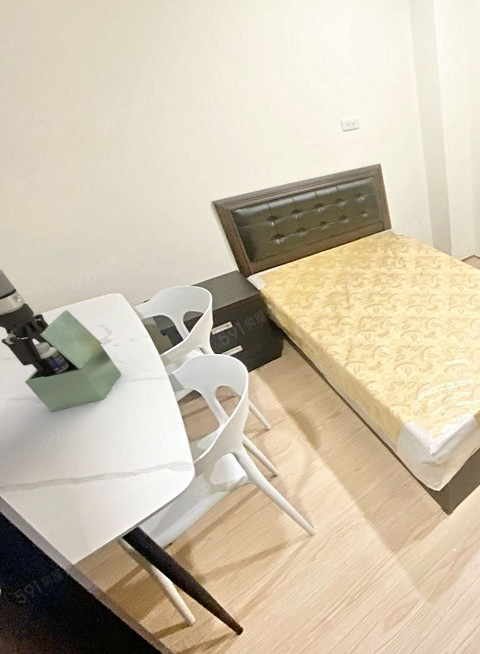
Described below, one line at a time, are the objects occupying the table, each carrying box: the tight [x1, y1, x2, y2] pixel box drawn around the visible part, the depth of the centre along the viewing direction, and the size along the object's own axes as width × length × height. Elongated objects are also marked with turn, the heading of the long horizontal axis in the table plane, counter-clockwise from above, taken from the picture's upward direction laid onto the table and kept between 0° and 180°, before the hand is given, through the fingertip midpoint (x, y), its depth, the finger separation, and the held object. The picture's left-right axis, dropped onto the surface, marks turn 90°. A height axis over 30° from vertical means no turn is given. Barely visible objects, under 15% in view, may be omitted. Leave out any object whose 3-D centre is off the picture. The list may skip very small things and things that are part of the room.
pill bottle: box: [35, 342, 68, 373], centre depth 122 cm, size 5×5×10 cm
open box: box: [24, 344, 122, 413], centre depth 127 cm, size 14×13×13 cm
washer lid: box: [40, 309, 102, 369], centre depth 122 cm, size 14×13×1 cm
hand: (57, 369), depth 124 cm, fingers closed on pill bottle, 5 cm apart
